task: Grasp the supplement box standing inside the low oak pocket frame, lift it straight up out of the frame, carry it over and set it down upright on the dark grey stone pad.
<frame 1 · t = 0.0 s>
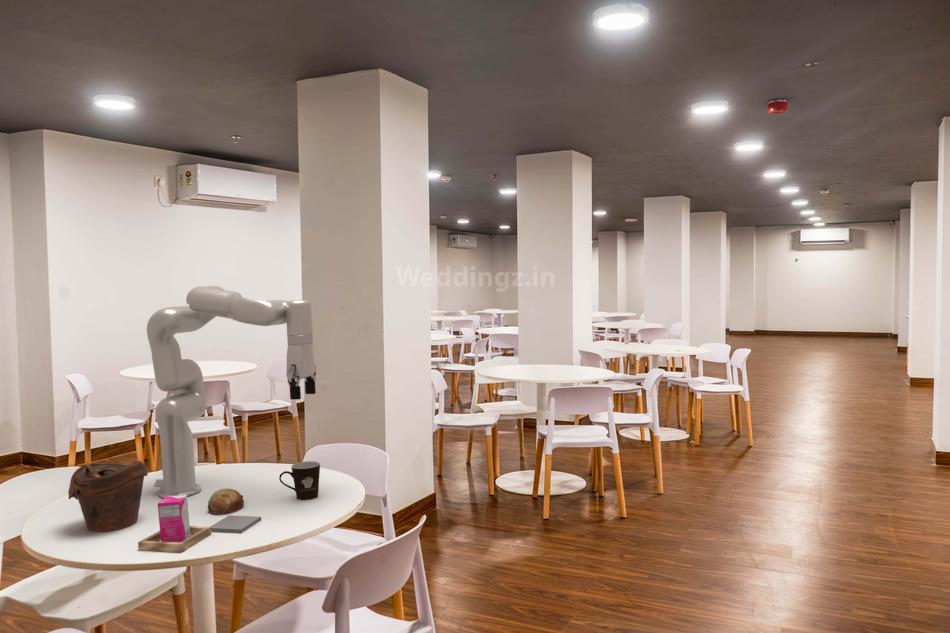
hand: (303, 396, 212), 31 cm above the table, tool pointing down, fingers open, 9 cm apart
supplement box: (175, 542, 180), resting in oak pocket frame
oak pocket frame: (175, 542, 180), on the table
bread roll: (226, 510, 206), on the table
coffee mug: (302, 497, 214), on the table
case: (111, 525, 196), on the table
stone pad: (235, 525, 190), on the table
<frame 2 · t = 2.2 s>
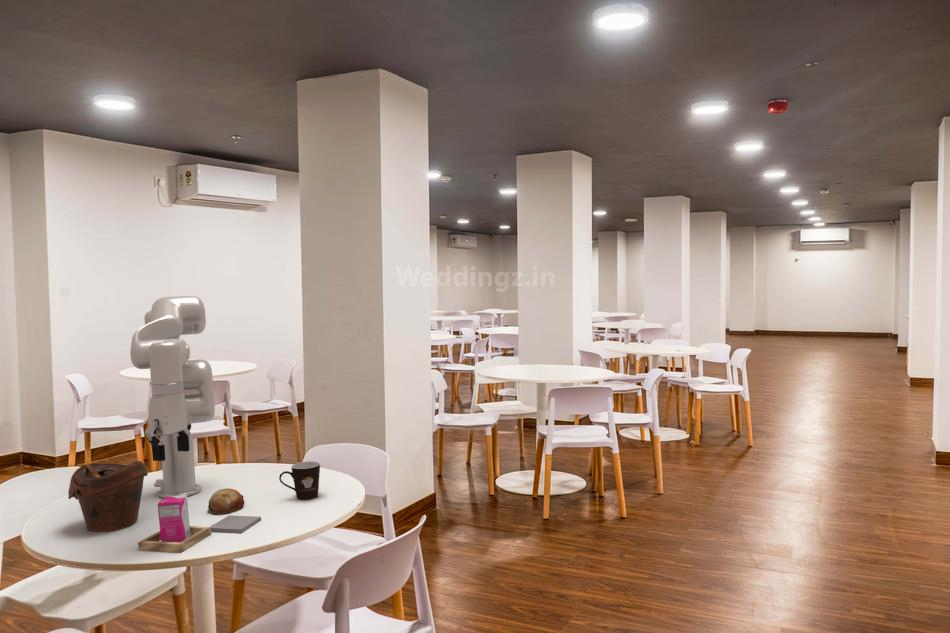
hand: (171, 455, 179), 23 cm above the table, tool pointing down, fingers open, 9 cm apart
nothing on the table moved.
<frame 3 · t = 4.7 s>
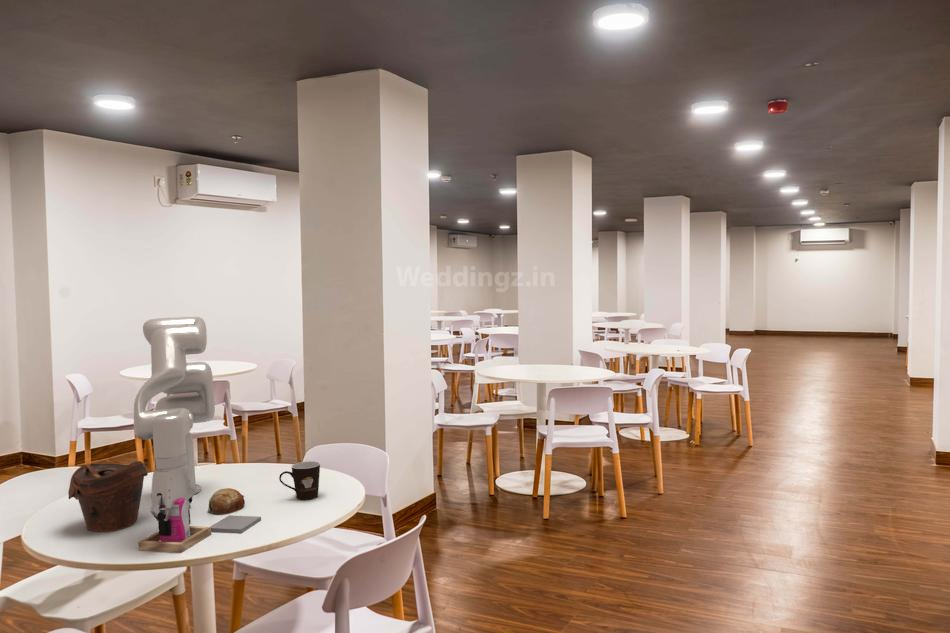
hand: (175, 529, 180), 3 cm above the table, tool pointing down, fingers closed on supplement box, 7 cm apart
supplement box: (175, 542, 180), resting in oak pocket frame, touching gripper
everything else where it was.
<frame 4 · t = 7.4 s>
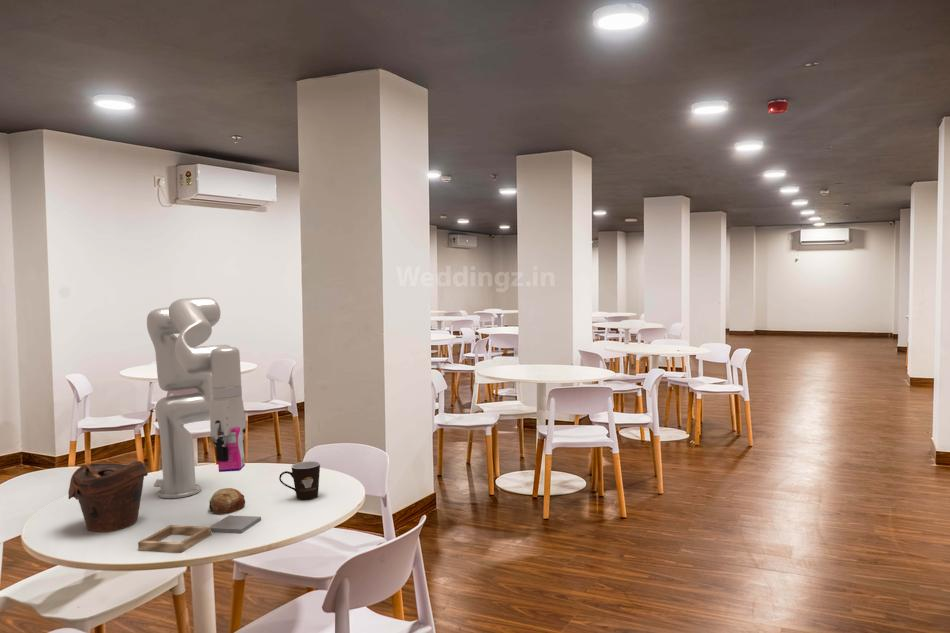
hand: (230, 456, 189), 19 cm above the table, tool pointing down, fingers closed on supplement box, 7 cm apart
supplement box: (231, 469, 190), point 16 cm above the table, touching gripper
everything else where it was.
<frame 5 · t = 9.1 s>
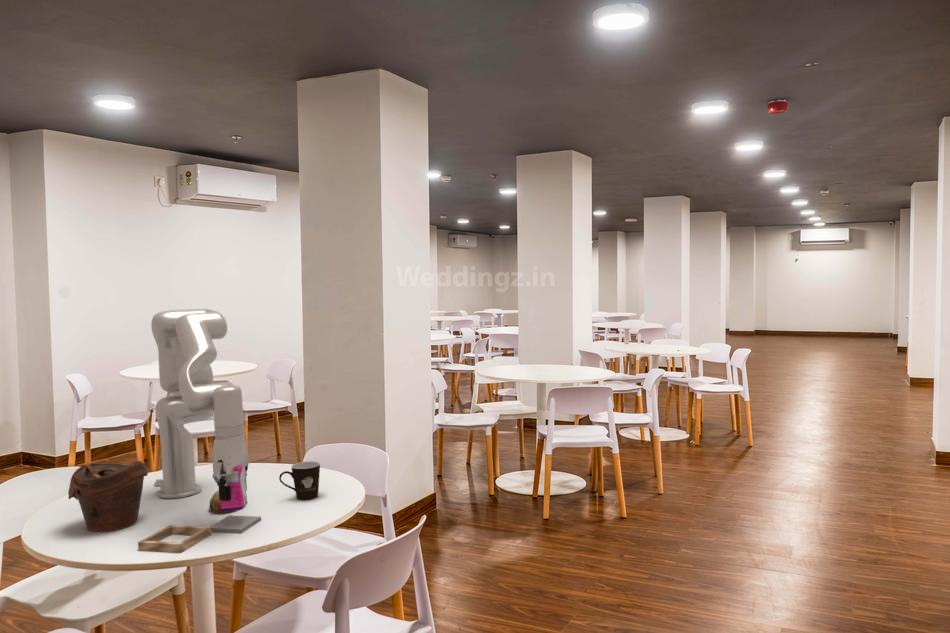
hand: (233, 495, 190), 8 cm above the table, tool pointing down, fingers closed on supplement box, 7 cm apart
supplement box: (234, 507, 190), point 5 cm above the table, touching gripper
everything else where it was.
when the fingers open (6 cm above the table, at t = 10.3 s): supplement box drops 1 cm, resting on stone pad.
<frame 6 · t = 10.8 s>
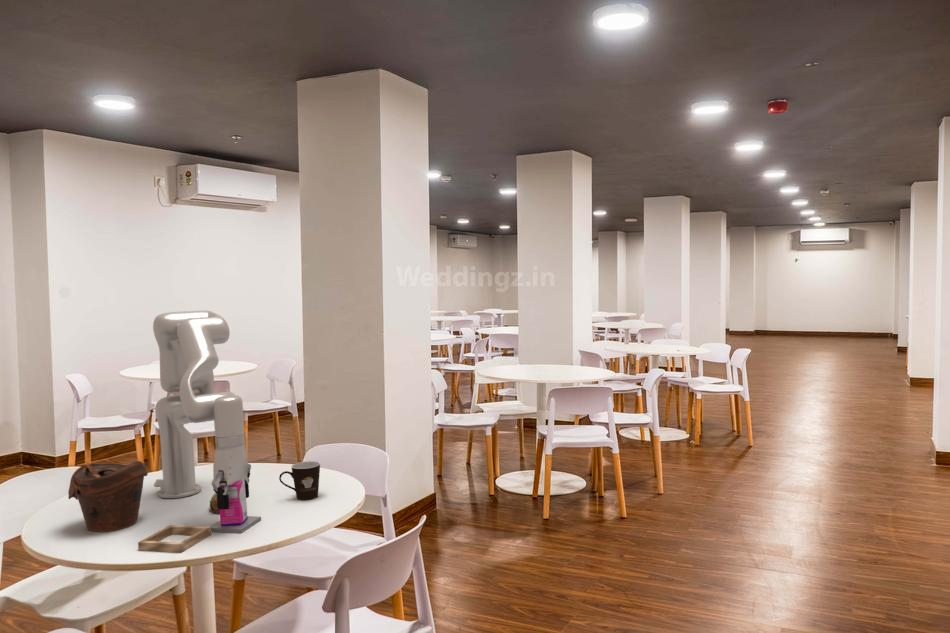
hand: (233, 503, 190), 6 cm above the table, tool pointing down, fingers open, 9 cm apart
supplement box: (234, 523, 190), point 1 cm above the table, touching stone pad
everything else where it was.
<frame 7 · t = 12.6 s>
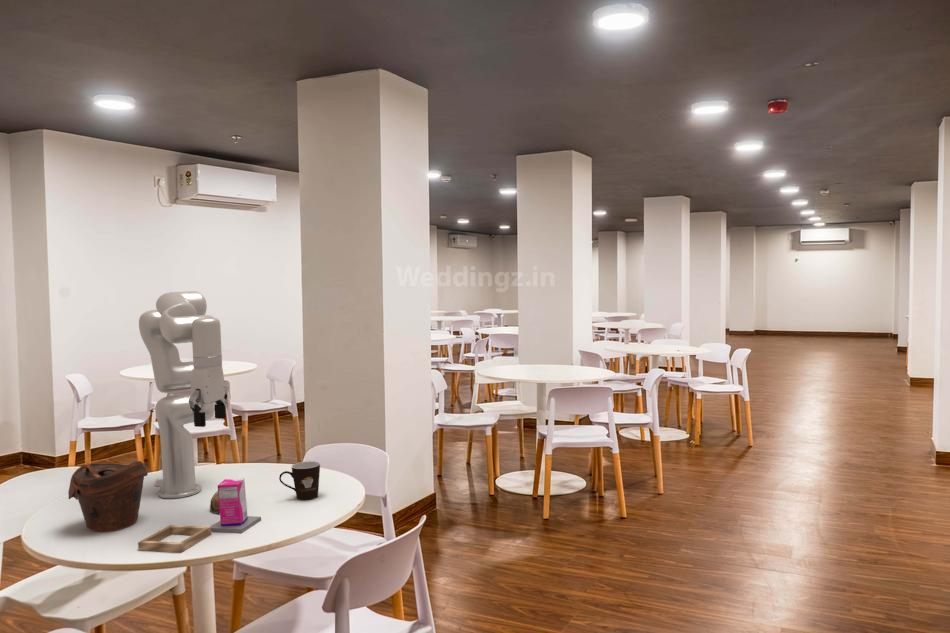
hand: (210, 422, 195), 28 cm above the table, tool pointing down, fingers open, 9 cm apart
nothing on the table moved.
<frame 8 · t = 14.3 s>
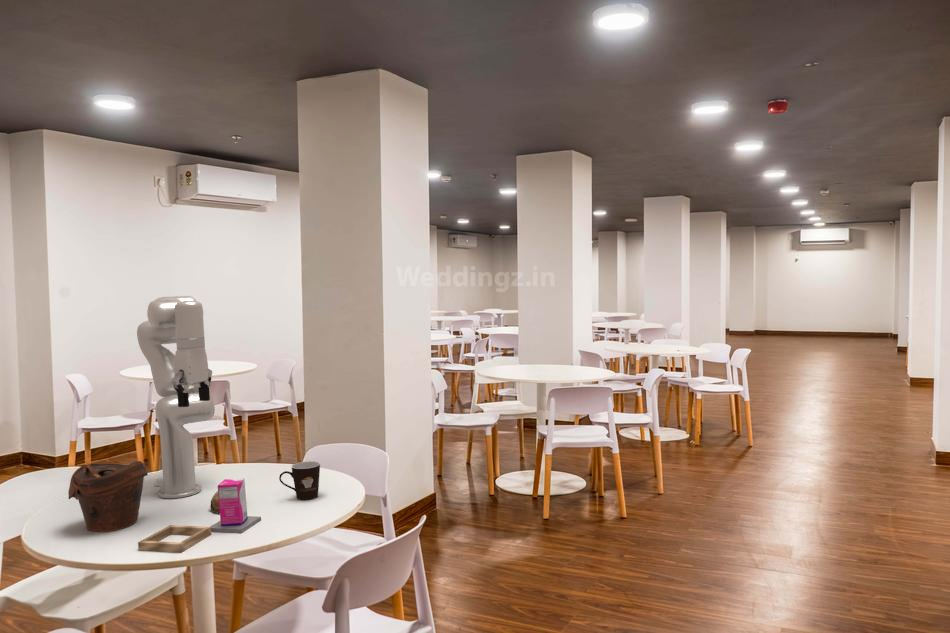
hand: (194, 403, 200), 32 cm above the table, tool pointing down, fingers open, 9 cm apart
nothing on the table moved.
at the end: supplement box inside the target area on the stone pad (0.2 cm from its centre), point 0.8 cm above the stone pad's base; supplement box tilted 0°; the gripper is holding nothing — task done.
